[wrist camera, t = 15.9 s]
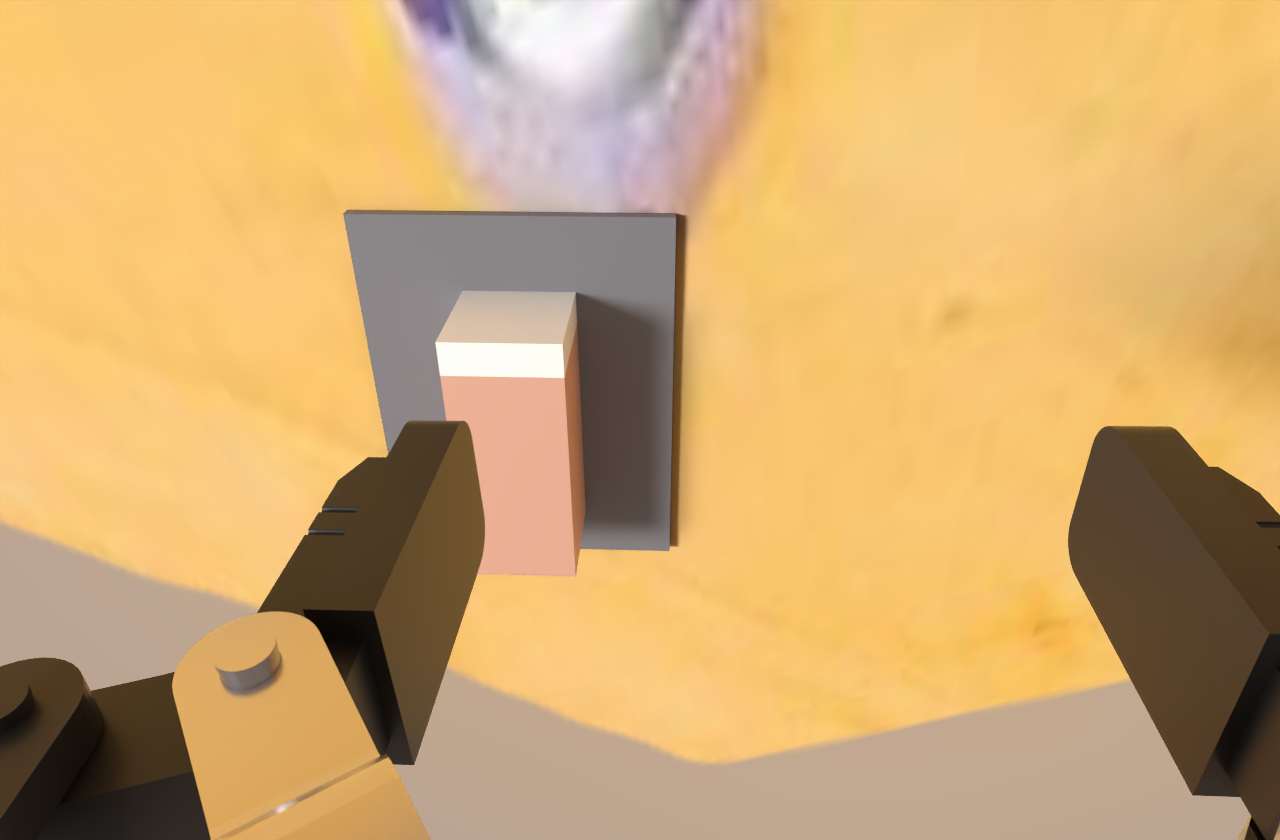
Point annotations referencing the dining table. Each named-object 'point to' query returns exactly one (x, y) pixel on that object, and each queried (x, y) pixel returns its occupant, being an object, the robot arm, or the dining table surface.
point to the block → (520, 423)
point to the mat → (606, 324)
